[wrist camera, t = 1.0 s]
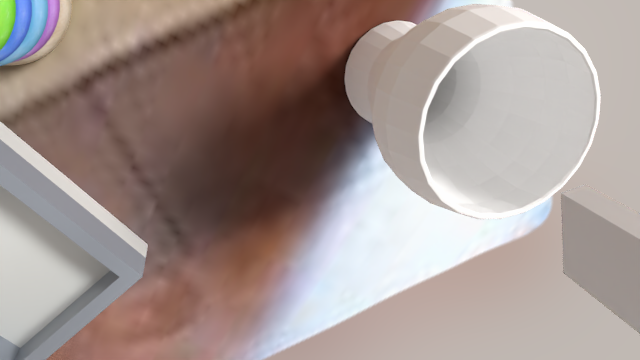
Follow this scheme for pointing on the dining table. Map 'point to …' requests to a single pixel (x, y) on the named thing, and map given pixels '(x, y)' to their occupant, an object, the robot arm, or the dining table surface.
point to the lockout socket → (86, 232)
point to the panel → (44, 254)
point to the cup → (477, 106)
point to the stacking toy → (31, 28)
